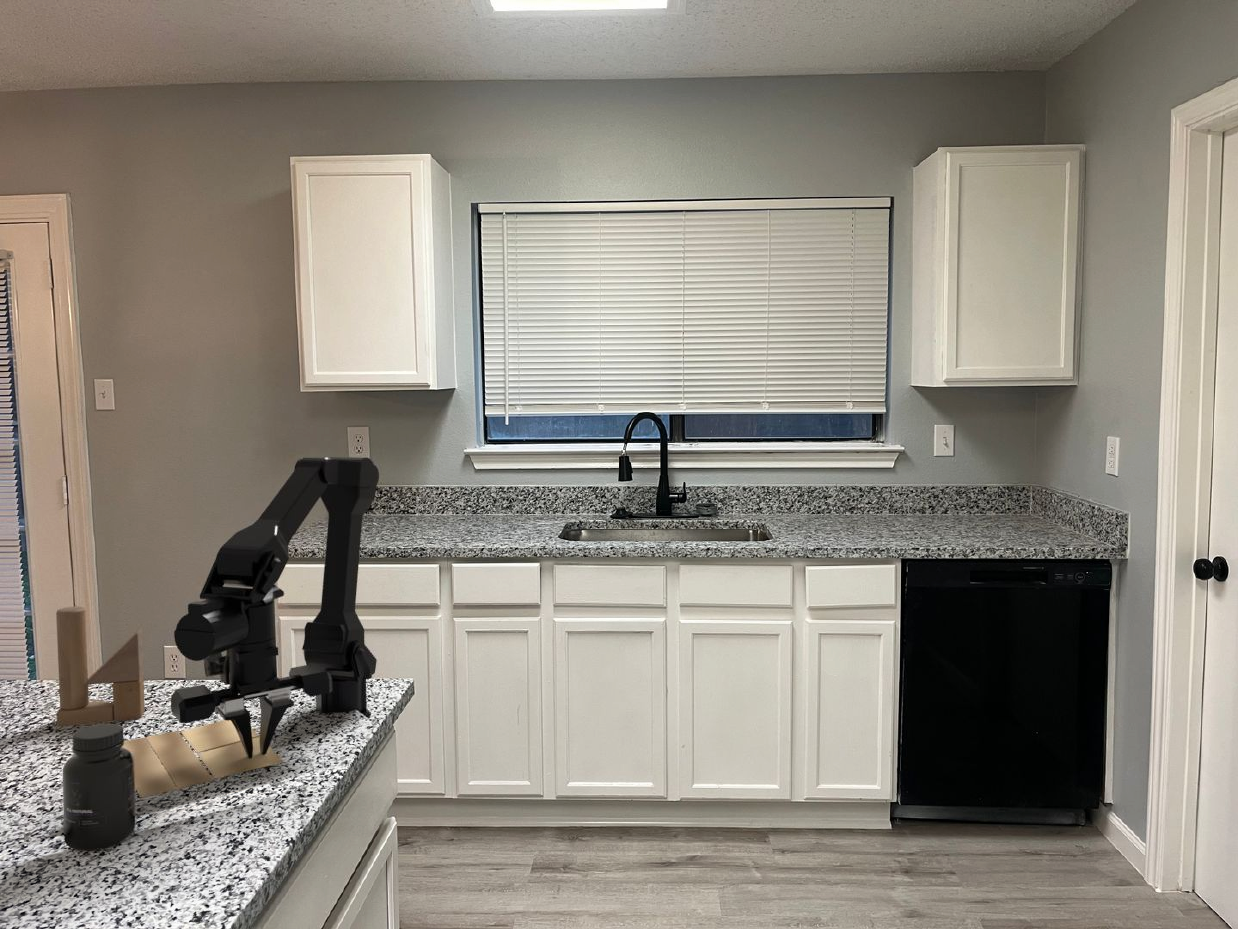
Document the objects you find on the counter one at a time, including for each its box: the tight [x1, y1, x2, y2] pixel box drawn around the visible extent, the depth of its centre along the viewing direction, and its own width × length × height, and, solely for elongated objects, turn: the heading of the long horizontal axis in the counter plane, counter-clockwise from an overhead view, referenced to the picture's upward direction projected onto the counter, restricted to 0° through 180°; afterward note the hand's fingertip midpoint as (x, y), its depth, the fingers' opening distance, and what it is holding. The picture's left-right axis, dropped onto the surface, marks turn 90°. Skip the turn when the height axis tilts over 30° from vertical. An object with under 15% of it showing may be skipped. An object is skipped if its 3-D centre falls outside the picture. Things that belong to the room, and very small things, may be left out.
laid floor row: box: [122, 730, 215, 799], centre depth 115 cm, size 8×20×2 cm, turn 38°
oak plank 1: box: [180, 719, 260, 754], centre depth 124 cm, size 8×10×2 cm
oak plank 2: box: [197, 736, 283, 779], centre depth 116 cm, size 8×10×2 cm
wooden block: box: [55, 606, 146, 728], centre depth 130 cm, size 4×11×18 cm, turn 110°
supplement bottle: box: [62, 723, 136, 852], centre depth 97 cm, size 7×7×12 cm
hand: (256, 755), depth 116 cm, fingers closed on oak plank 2
